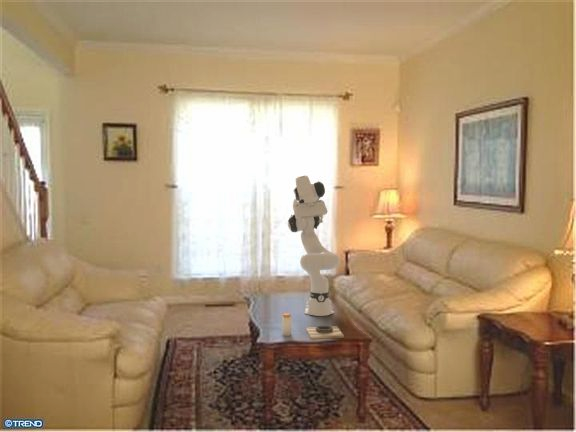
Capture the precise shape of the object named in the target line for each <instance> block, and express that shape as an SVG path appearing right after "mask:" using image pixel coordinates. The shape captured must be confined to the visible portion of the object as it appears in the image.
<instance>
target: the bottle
mask: <svg viewBox="0 0 576 432" xmlns="http://www.w3.org/2000/svg"><path fill="white" fill-rule="evenodd" d="M281 322H282V323H281V331H282V332H281V335H282V336H284V337H288V336H292V314H291V313H282V317H281Z"/></svg>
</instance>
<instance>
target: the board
mask: <svg viewBox="0 0 576 432" xmlns="http://www.w3.org/2000/svg"><path fill="white" fill-rule="evenodd" d="M305 330H306V331H307V332H306V333H307V334H308V336H309V338H310V340H311V339H313V340H314V339H341V338H343V339H344V337H345V335H344V333H343V332H342V331H341V329H340V328H339V327H338V326H337V325H335V326H332V325H331V326H330V325H318V326H306V327H305Z"/></svg>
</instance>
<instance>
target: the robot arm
mask: <svg viewBox="0 0 576 432" xmlns="http://www.w3.org/2000/svg"><path fill="white" fill-rule="evenodd" d="M295 185H296V187H295V188H294V189H293V193H294V196H295V198H294V200H293V202H292V209H293V213H294V214H291V215H290V217H289V218H288V220H287V227H288V229H289V230H290V232H291V233H298V232H301V233H300V239H301V243H302V246H303V248H304V250H305V252H306V254H303V255H302V256H301V258H300V260H299V261H300V262H299V263H300V267H301V269H302V270H304V271H305V272H306V273H307V274H308V276H309V278H310V291H309V293H310V294H309V297H310V298H309V299H308V301H306V304H305V305H306V308H305V310H304V314H305V315H311V316H317V317H321V316H322V317H324V316H325V317H326V316H329V315H332V314H335V311H334V310H333V309H332V300H331V299H330V292H329V279H328V278H327V277H326V276H325V275H322V274H321V271H329V270H334V269H337V268H338V267H339V266H340V265H339V264H340V257H339V255H337V253H334V252H331V251H330V250H328V249H327V248H325V246H324V245H322V243H321V241H320V239H319V237H318V235H317V233H316V232H315V230H317V229H318V227H319V226H320V224H323V222H324V221H323V218H324V216H325V215H327V214H328V208H327V206H326V203H325V201H324V200H322V199H321V198H323V197H324V195H325V193H326V189H325V186H324V185H325V184H324V183H323V182H321V181H319V180H316V181H314V182H311V180H310V178H309V176H308V175H305V174H304V175H300V176H297V177H296V178H295Z"/></svg>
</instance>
